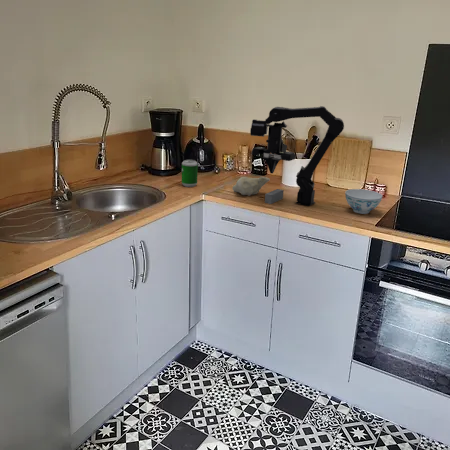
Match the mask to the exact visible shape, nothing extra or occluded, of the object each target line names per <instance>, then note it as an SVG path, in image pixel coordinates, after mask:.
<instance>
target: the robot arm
mask: <svg viewBox="0 0 450 450" xmlns="http://www.w3.org/2000/svg"><path fill="white" fill-rule="evenodd" d="M315 117H318V118H321V120H322V121H323V122H324V123H325V124H326V125H327V126H328V127H327V130H326V132H325V134H324V137H323V138H322V140H321V142H320V144H319V145H318V147H317V148H316V149H315V152H314V153H313V155H312V157H311V158H310V160H309V161H308V163H307V164H306V165H305V166H303V165H302V166H301V167H300V169H299V171H298V172H297V173H296V176H295V177H296V180H295V182H296V185H297V187H299V189H298V192H297V196H296V201H295V204H299V205H303V206H307V207H310V206H312V205H314V204H316V202H315V193H316V190H314V188H315V182H314V181H313V180H312V178H313V175H314V173H315V170H316V169H317V167H318V165H319V163H320V162H321V160H322V158H323V157H324V155H325V154H326V152H327V151H328V149H329V148H330V146H331V145H332V142H334V141H335V140H336V139H337V137H339V136H340V134H341V133H342V132H343V131H344V129H345V123H344V122H345V121H344V120H343V119H342V118H339V117H336V116H335V115H334V114H333V113H331V112H330V110H328V109H327V108H326V107H325V106H321V105H320V106H318V107H317V106H314V107H300V108H299V107H298V108H289V107H283V106H275V107H272V108H271V110H270V111H269V113H268V116H267V118H265V120H260V119H252V121H251V125H250V133H249V134H250V136H251V137H263V138H265V135H267V134H268V135H267V139H265V143H267V145H266V146H267V147H262V146H257V147H254V148H252V150H251V155H252V156H253V155H254V156H259V155H263V156H262V159H264V161H265V164H266V165H267V167H268V170H269V173H270V174H274V172H275V171H276V167H277V165H278V164H279V162H280V161H288V162H291V161H294V160H296V157H297V156H296V153H295V152H292V151H287V149H288V145H286V143H284V140H283V139H282V134H283V129H286V128H287V127H288V125H287V124H286V123H285V121H288V120H289V119H290V120H291V119H297V118H298V119H302V118H315ZM272 123H273V124H272Z"/></svg>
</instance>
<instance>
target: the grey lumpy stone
mask: <svg viewBox="0 0 450 450" xmlns="http://www.w3.org/2000/svg"><path fill="white" fill-rule="evenodd" d="M268 182H270V178H269V177H266V176H262V175H259V177H258V178H257V177H248V176H241V177H239V179H238V180H237V181H236V183H235V184H234V185H233V186H232V191H233V193H234V192H235V193H239V194H241V195H242V196H248V197H250V196H251V195H253V196H255V195H258V193H260V190H261V189H262V187H264V185H266V184H267V183H268Z"/></svg>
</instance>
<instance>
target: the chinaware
mask: <svg viewBox="0 0 450 450" xmlns="http://www.w3.org/2000/svg"><path fill="white" fill-rule="evenodd" d="M344 194H345V201H346V202H347V205H349V207H351V208H352V212H354V213H356V214H363V215H367V214H369V213H370V212H371V211H372V210H375V208H377V207H378V206H379V204H380V203H381V201H382V199H383V194H382V193H380V192H377V191H374V190H370V189H362V188H350V189H347V190H346V191H344Z"/></svg>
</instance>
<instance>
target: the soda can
mask: <svg viewBox="0 0 450 450" xmlns="http://www.w3.org/2000/svg"><path fill="white" fill-rule="evenodd" d="M198 167H199V165H198V162H197V161H196V160H195V159H184V160H183V161H182V162H181V184H182V185H183V186H184V187H186V188H193V187H196V186H197V185H198V170H199V169H198Z"/></svg>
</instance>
